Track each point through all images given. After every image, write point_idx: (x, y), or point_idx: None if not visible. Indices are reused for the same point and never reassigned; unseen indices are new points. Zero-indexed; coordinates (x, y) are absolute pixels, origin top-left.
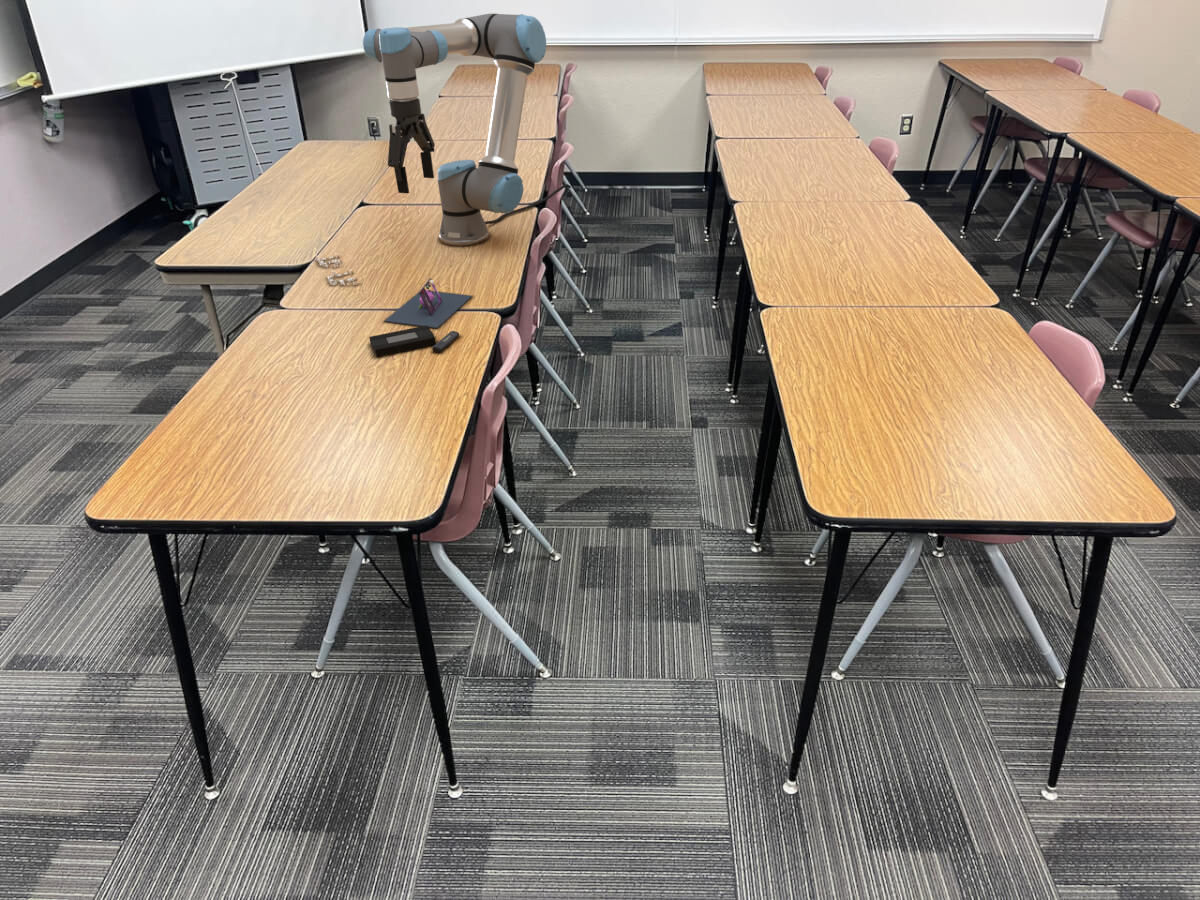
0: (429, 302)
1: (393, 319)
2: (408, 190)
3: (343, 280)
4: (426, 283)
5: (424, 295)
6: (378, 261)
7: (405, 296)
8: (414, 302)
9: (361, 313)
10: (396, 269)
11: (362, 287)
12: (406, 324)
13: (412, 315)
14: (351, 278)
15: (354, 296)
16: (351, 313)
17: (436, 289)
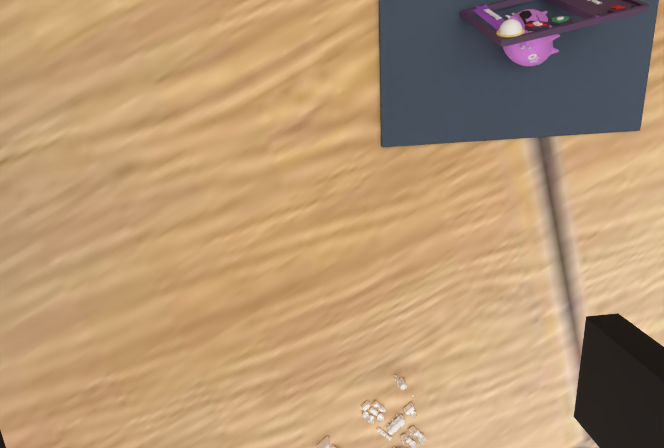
0: (571, 1)
1: (629, 104)
2: (610, 330)
3: (379, 428)
4: (562, 26)
5: (603, 8)
6: (198, 428)
7: (436, 178)
8: (490, 111)
9: (586, 237)
10: (236, 338)
11: (407, 349)
12: (650, 42)
13: (590, 57)
14: (363, 415)
15: (475, 330)
16: (591, 265)
17: (494, 15)
